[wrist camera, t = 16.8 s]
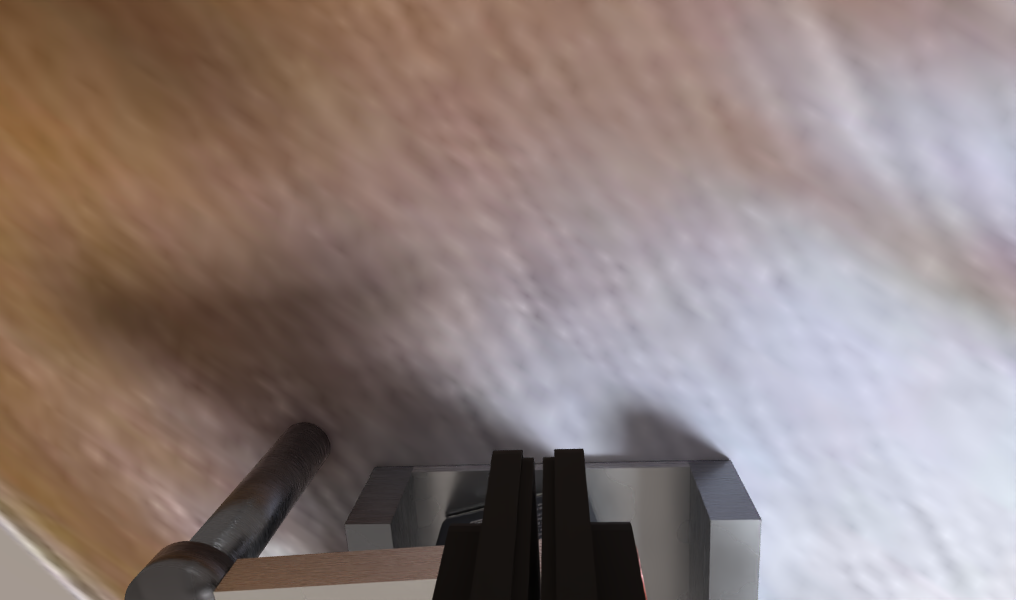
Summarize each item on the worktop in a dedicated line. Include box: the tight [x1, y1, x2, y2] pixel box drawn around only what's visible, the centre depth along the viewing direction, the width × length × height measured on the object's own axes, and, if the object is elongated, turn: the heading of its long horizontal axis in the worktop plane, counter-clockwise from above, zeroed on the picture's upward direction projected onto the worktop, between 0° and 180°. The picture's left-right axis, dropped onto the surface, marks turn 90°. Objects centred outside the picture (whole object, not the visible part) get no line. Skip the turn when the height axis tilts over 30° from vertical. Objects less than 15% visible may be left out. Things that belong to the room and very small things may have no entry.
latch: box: [125, 539, 647, 600], centre depth 15 cm, size 13×3×2 cm, turn 98°
